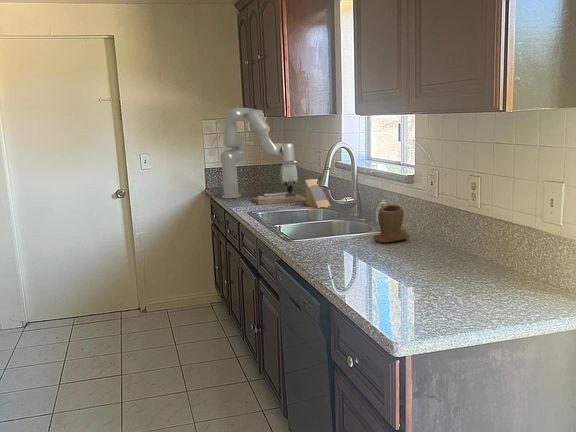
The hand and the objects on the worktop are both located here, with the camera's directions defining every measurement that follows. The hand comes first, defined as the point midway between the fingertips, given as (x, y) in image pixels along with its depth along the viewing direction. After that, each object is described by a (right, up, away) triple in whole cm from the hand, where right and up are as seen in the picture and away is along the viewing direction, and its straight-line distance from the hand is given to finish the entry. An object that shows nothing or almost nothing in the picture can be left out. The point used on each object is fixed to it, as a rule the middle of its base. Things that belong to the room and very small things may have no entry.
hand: (290, 192), depth 361 cm
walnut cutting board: (-8, -5, -1) cm, 9 cm away
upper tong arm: (-7, -2, -1) cm, 7 cm away
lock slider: (-18, -5, -7) cm, 20 cm away
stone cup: (+42, -25, -124) cm, 134 cm away
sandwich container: (+16, -9, -28) cm, 34 cm away
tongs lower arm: (-8, -3, -1) cm, 9 cm away
